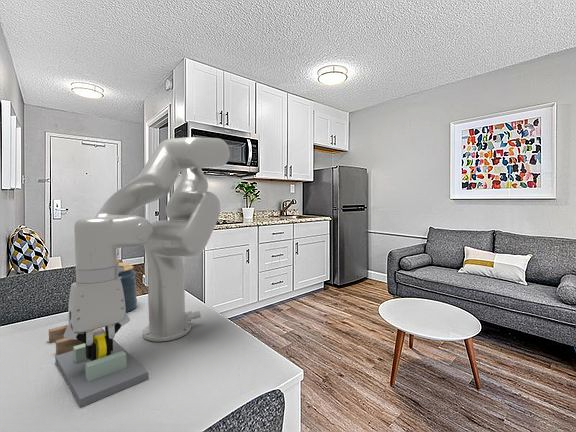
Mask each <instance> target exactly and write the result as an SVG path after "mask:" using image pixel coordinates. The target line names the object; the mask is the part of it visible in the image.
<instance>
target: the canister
mask: <svg viewBox="0 0 576 432" xmlns="http://www.w3.org/2000/svg"><path fill="white" fill-rule="evenodd" d="M117 265H118V266H124V271H123V272H120V273H119V274H118V276H117V277H119V278H120V279H121V282H122V287H123V292H124V298H125V307H126V313H129V312H132V311H133V310H135V309H136V308H137V303H138V299H137V281H136V278H135V277H136V275H137V272H136V271H134V267H135V266H134V265H132V264H130V263H129V262H120V260H119V259H118V258H117Z"/></svg>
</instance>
